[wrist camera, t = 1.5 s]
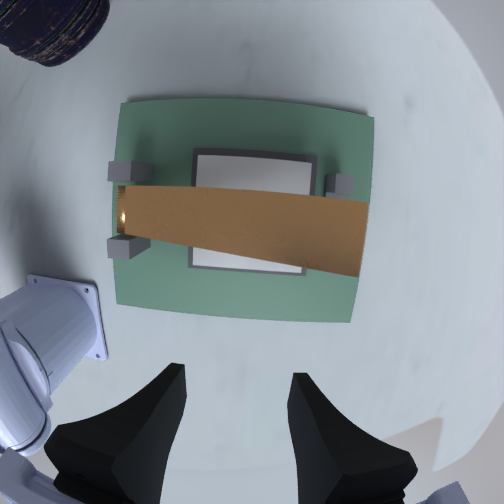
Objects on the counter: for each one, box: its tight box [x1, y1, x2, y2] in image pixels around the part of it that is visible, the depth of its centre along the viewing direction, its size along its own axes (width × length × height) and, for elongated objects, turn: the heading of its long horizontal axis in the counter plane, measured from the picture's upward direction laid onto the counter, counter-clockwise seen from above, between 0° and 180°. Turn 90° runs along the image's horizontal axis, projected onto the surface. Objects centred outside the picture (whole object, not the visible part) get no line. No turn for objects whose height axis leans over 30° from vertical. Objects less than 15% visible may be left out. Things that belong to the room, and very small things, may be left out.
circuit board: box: [107, 98, 374, 323], centre depth 18 cm, size 19×16×5 cm
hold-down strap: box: [116, 186, 370, 278], centre depth 14 cm, size 15×3×2 cm, turn 86°
